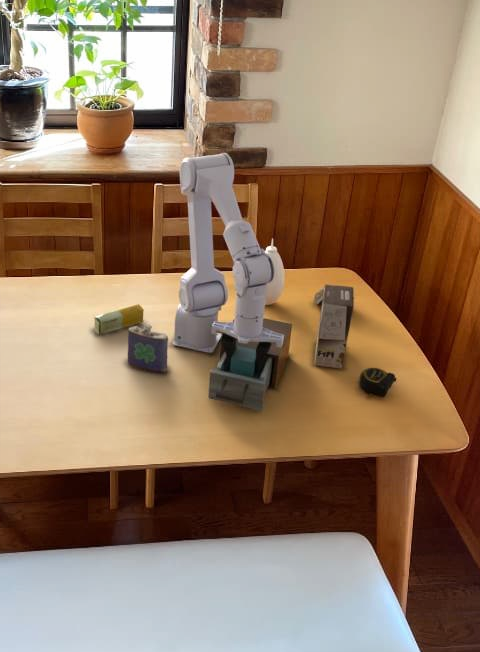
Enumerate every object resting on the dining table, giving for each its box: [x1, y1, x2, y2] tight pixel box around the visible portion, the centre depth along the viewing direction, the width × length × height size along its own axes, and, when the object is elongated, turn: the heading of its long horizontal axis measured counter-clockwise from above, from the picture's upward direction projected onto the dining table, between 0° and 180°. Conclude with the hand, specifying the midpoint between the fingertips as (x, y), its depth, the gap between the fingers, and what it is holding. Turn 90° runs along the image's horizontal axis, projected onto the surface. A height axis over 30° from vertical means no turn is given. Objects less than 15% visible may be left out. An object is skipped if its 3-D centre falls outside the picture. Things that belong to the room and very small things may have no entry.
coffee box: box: [314, 284, 355, 370], centre depth 177 cm, size 9×6×16 cm
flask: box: [127, 324, 169, 374], centre depth 173 cm, size 9×3×11 cm, turn 68°
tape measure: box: [358, 367, 398, 398], centre depth 170 cm, size 7×7×4 cm
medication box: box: [93, 303, 145, 336], centre depth 188 cm, size 12×3×4 cm, turn 120°
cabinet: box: [218, 317, 293, 390], centre depth 175 cm, size 14×13×9 cm
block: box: [230, 346, 256, 378], centre depth 165 cm, size 5×5×5 cm
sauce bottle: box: [265, 237, 286, 306], centre depth 195 cm, size 8×8×18 cm
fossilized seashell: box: [313, 285, 325, 307], centre depth 198 cm, size 8×7×10 cm
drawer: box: [207, 352, 275, 412], centre depth 165 cm, size 18×11×7 cm, turn 161°
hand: (244, 367), depth 166 cm, fingers closed on block, 5 cm apart
